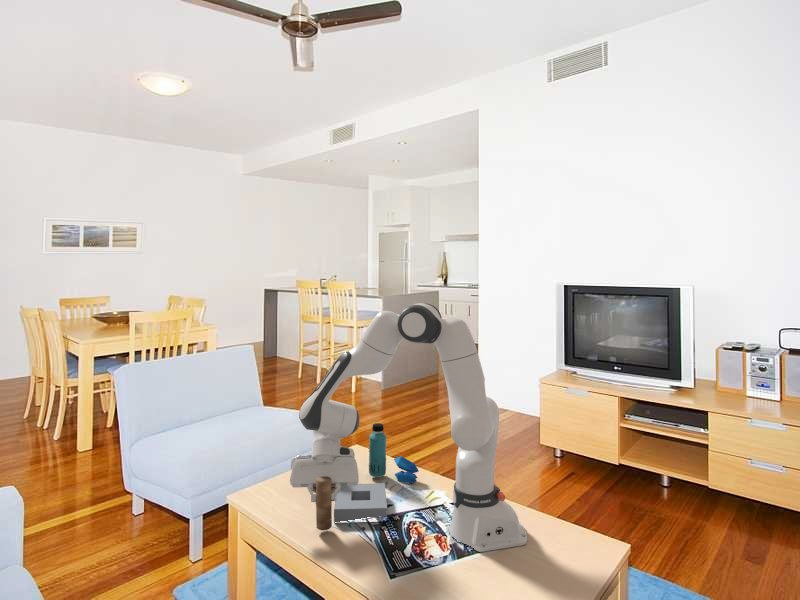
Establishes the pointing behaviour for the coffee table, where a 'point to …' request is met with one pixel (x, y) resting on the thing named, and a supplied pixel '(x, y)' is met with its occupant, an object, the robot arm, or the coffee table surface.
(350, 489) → the grey square socket block
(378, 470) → the beverage bottle
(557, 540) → the coffee table surface
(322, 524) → the walnut dowel
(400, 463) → the open blue clamshell
